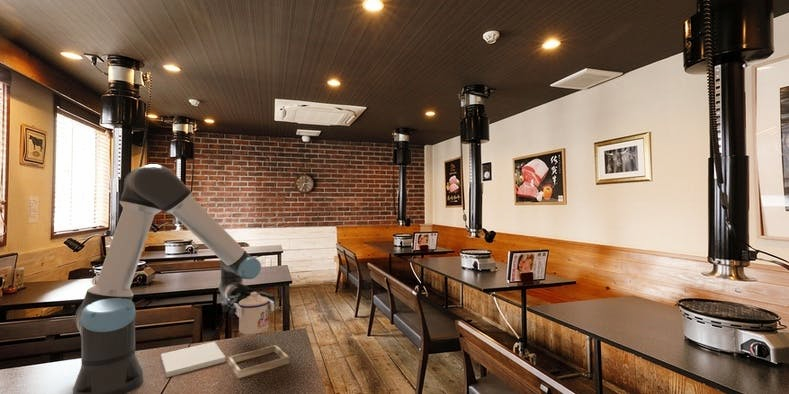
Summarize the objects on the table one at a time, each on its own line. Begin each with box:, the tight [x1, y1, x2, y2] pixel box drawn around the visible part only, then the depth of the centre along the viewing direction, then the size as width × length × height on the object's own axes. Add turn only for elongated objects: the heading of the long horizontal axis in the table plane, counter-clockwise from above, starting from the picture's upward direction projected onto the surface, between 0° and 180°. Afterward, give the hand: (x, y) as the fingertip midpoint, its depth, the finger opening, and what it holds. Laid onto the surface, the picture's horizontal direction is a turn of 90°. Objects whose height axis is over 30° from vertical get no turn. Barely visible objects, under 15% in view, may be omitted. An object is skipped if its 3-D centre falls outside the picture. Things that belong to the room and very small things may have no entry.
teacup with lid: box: [238, 291, 269, 335], centre depth 114 cm, size 12×9×12 cm
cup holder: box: [227, 344, 290, 379], centre depth 113 cm, size 12×15×2 cm
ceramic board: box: [160, 341, 226, 378], centre depth 115 cm, size 16×16×2 cm
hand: (257, 309), depth 110 cm, fingers closed on teacup with lid, 9 cm apart
